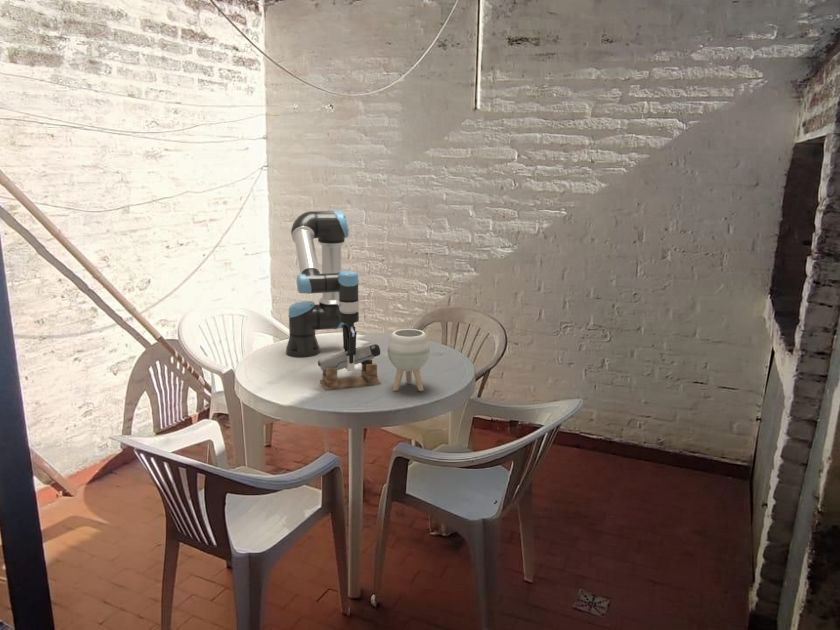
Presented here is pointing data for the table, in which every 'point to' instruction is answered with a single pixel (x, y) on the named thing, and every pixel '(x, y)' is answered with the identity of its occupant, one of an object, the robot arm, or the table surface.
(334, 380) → the display stand
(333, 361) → the gun
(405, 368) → the planter
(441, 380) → the table surface
